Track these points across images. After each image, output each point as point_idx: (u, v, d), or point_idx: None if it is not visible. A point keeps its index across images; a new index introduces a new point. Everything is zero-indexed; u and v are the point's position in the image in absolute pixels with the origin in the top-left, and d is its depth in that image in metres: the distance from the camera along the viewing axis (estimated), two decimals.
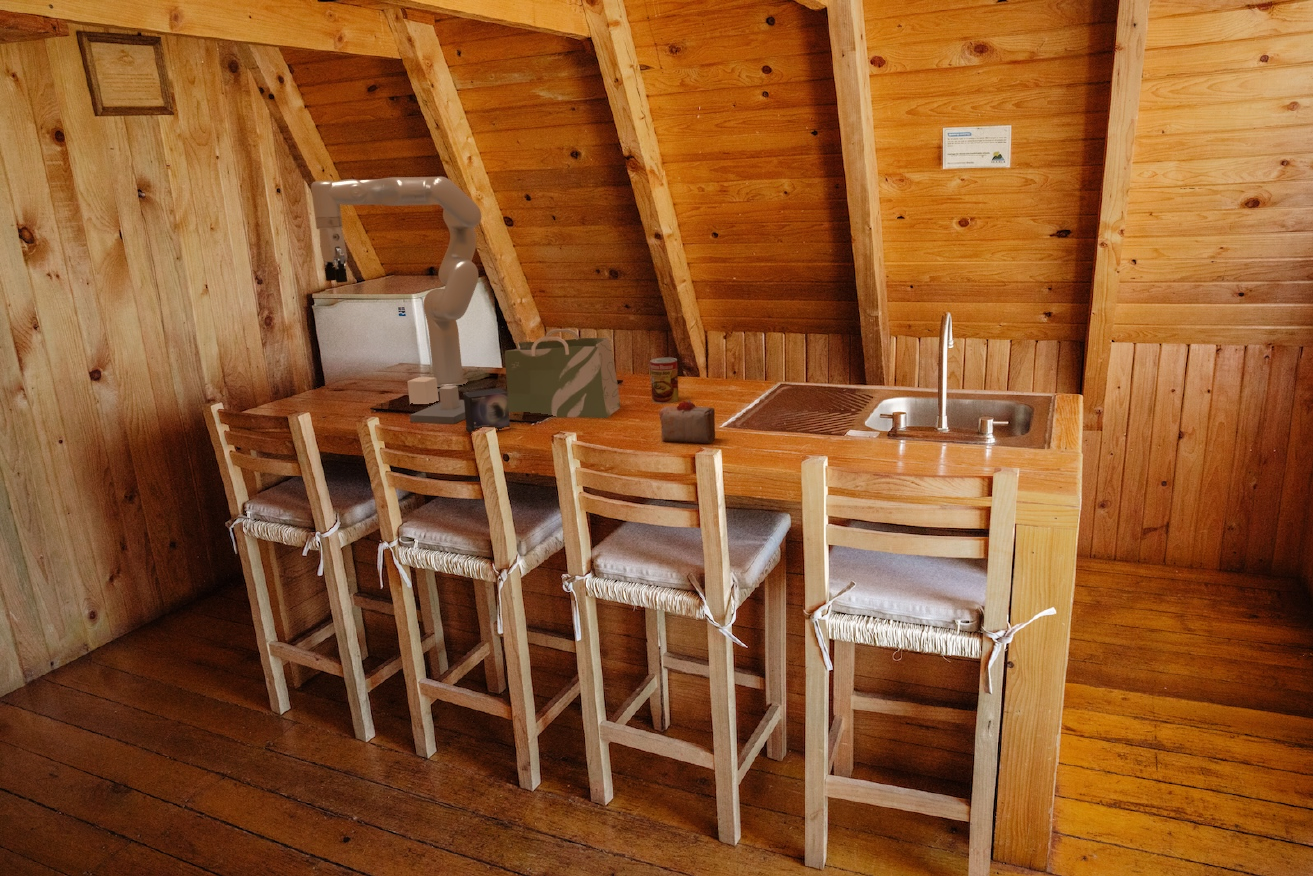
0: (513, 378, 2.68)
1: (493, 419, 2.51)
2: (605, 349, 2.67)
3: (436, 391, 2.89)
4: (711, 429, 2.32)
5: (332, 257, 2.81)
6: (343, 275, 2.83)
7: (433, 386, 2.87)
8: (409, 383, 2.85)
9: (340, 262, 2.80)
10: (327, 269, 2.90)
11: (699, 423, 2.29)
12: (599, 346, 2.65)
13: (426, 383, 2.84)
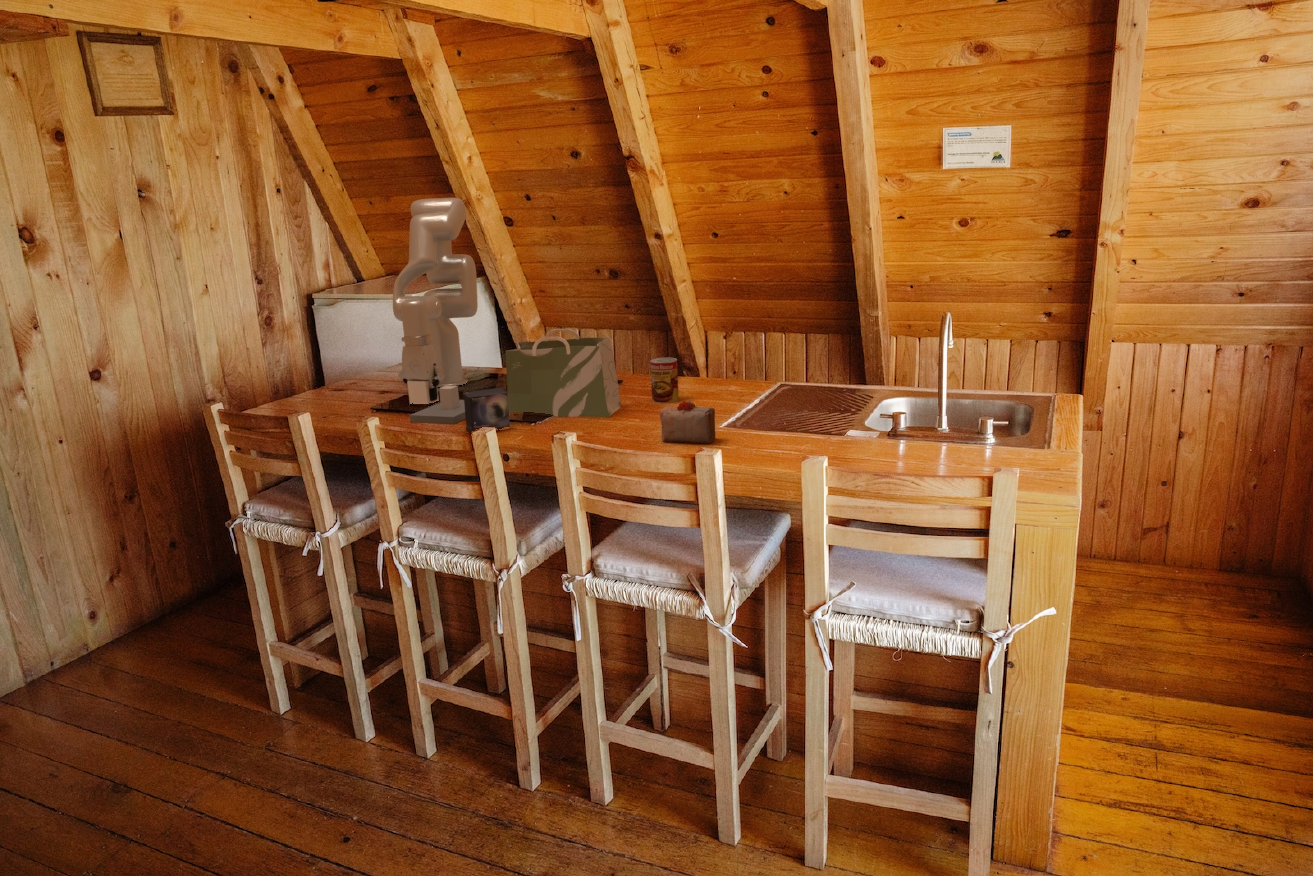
0: (513, 377, 2.68)
1: (493, 419, 2.51)
2: (606, 348, 2.67)
3: None
4: (711, 429, 2.31)
5: None
6: None
7: None
8: (409, 383, 2.85)
9: None
10: None
11: (700, 423, 2.29)
12: (600, 346, 2.65)
13: (426, 383, 2.84)
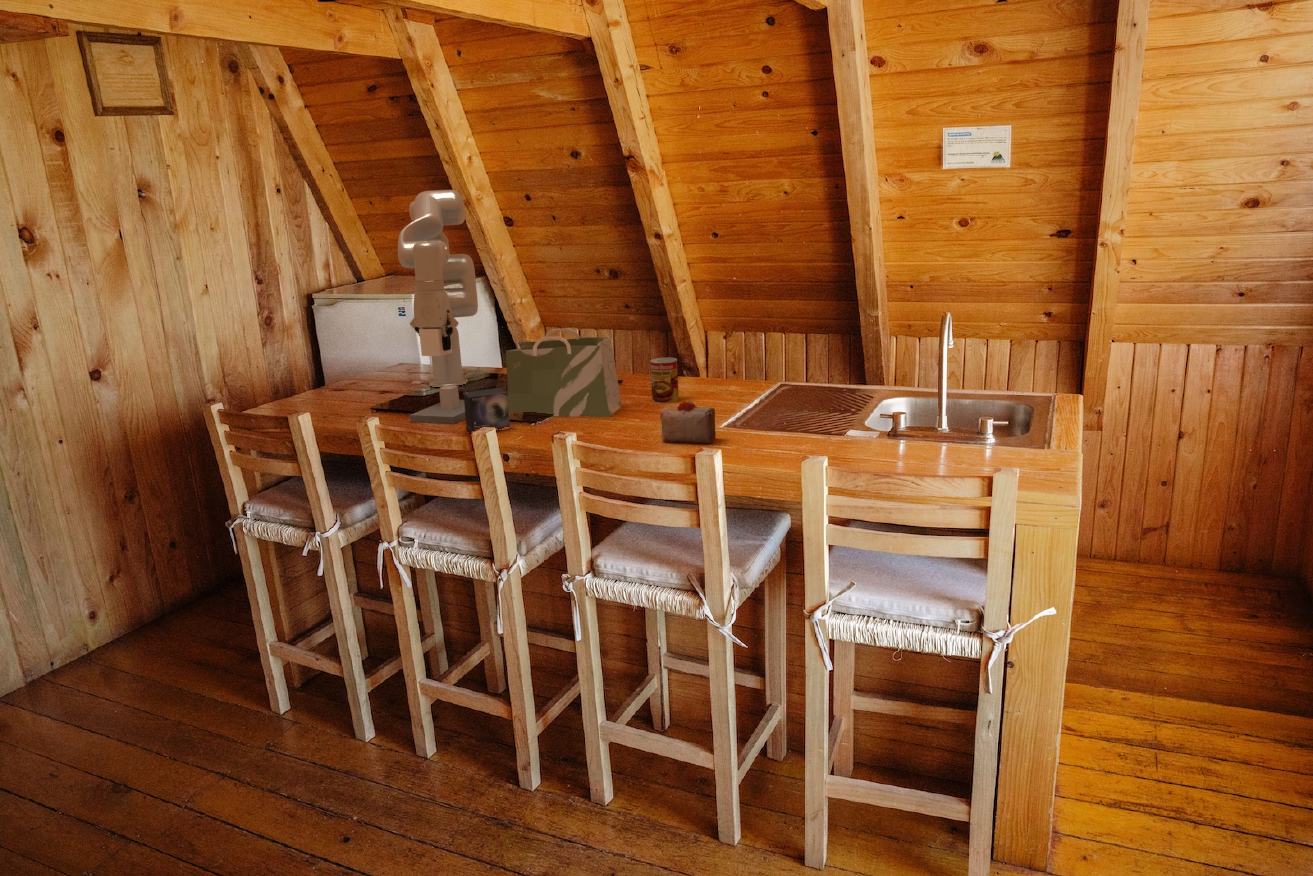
0: (514, 378, 2.68)
1: (493, 419, 2.51)
2: (606, 348, 2.68)
3: None
4: (712, 429, 2.31)
5: None
6: None
7: None
8: (421, 331, 2.69)
9: None
10: None
11: (700, 423, 2.29)
12: (600, 345, 2.66)
13: (439, 331, 2.68)
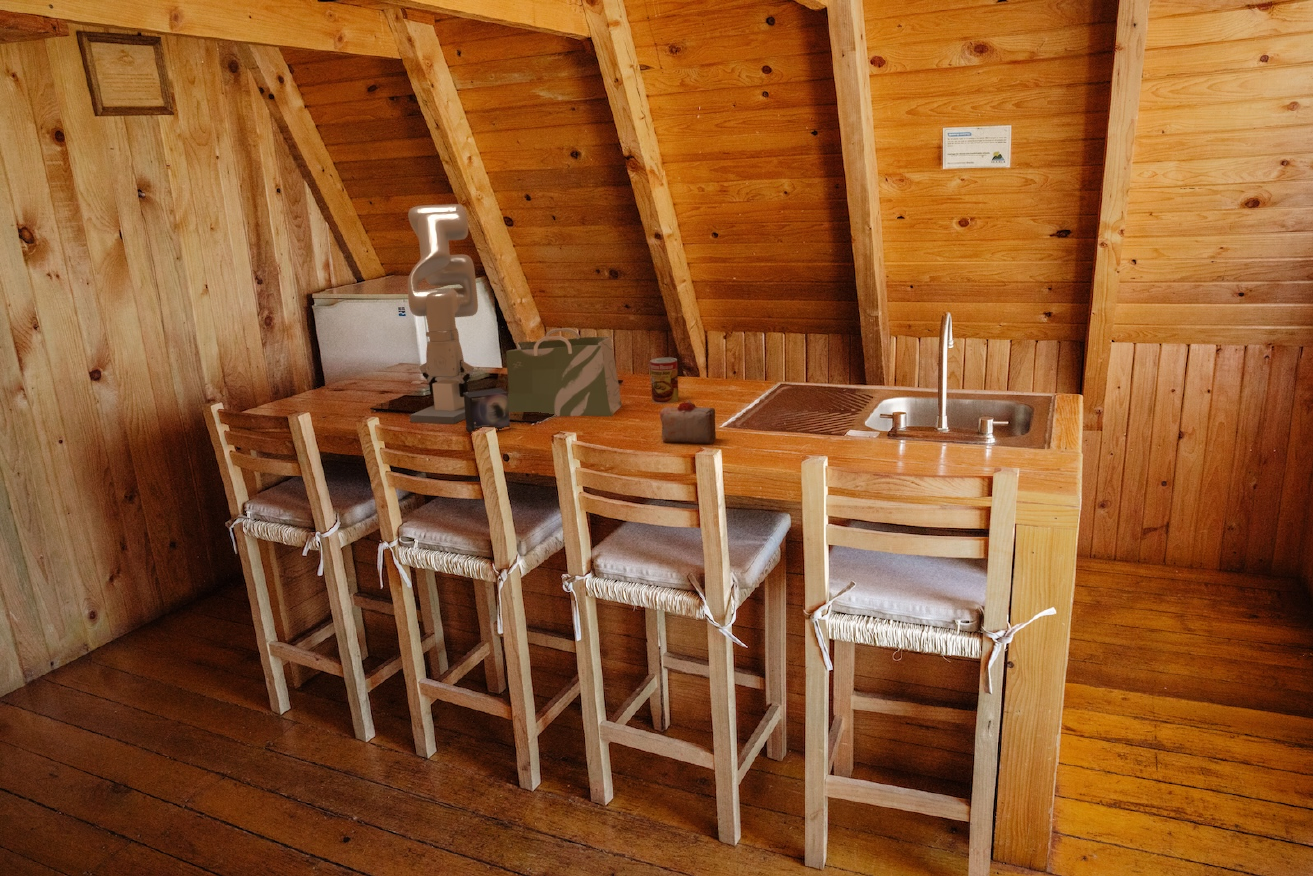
0: (514, 377, 2.68)
1: (493, 419, 2.51)
2: (606, 348, 2.68)
3: None
4: (712, 429, 2.31)
5: None
6: None
7: None
8: (434, 386, 2.69)
9: None
10: None
11: (700, 423, 2.29)
12: (601, 345, 2.66)
13: (452, 386, 2.68)
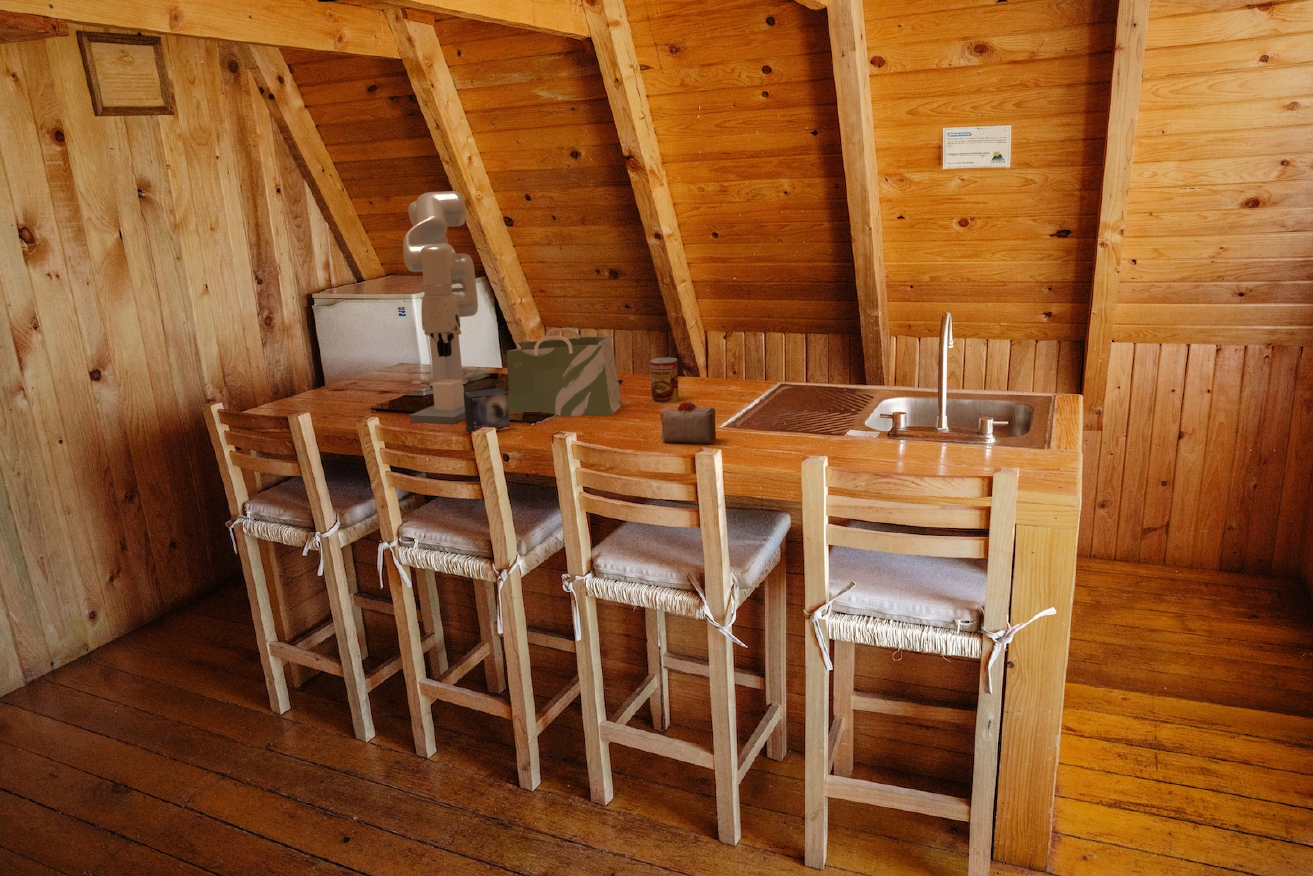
0: (515, 377, 2.68)
1: (493, 419, 2.51)
2: (607, 347, 2.69)
3: (462, 394, 2.73)
4: (712, 429, 2.31)
5: None
6: None
7: (459, 389, 2.72)
8: (434, 386, 2.69)
9: None
10: None
11: (701, 423, 2.29)
12: (601, 345, 2.67)
13: (452, 386, 2.68)
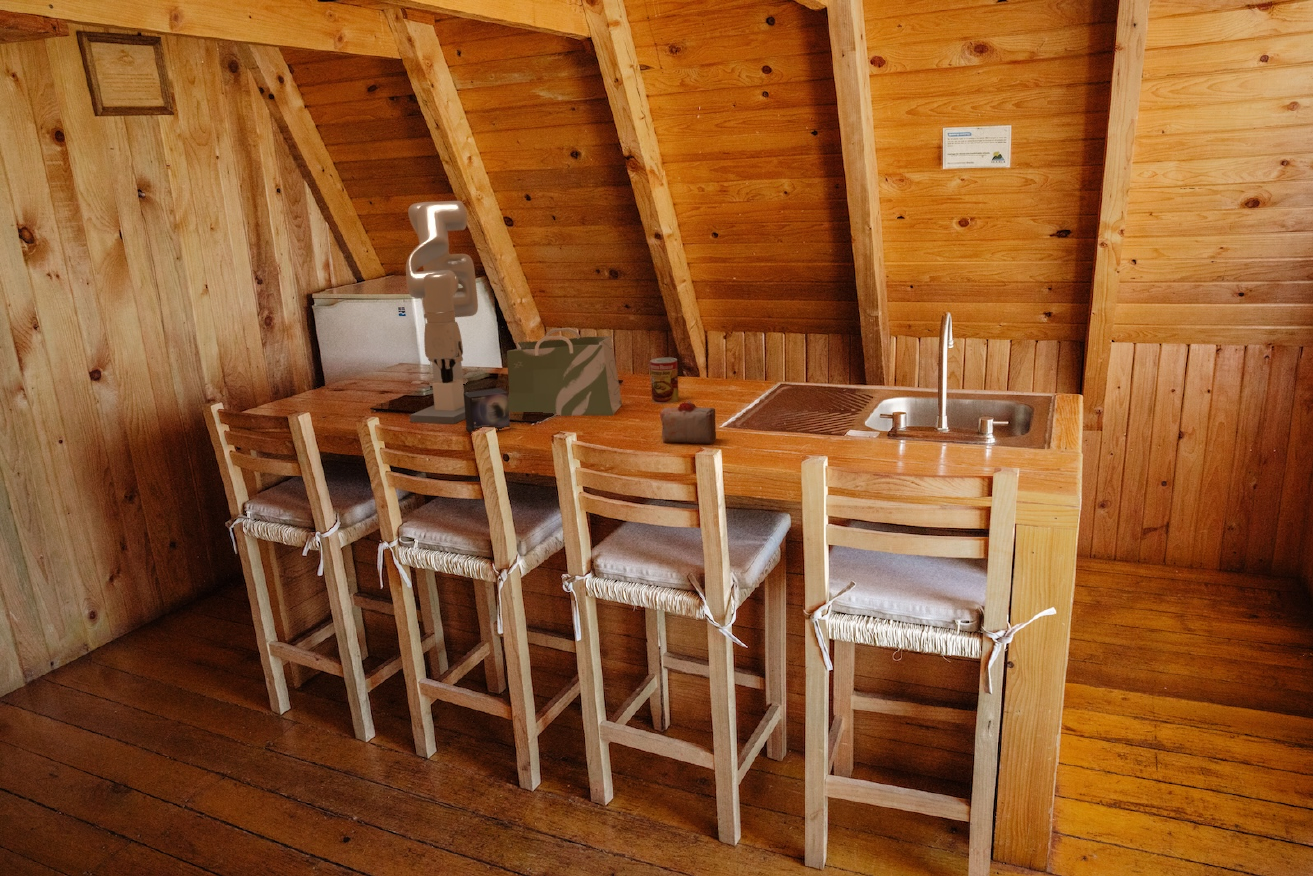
0: (515, 377, 2.68)
1: (493, 419, 2.51)
2: (607, 347, 2.69)
3: (462, 394, 2.73)
4: (713, 429, 2.31)
5: None
6: None
7: (459, 389, 2.71)
8: (434, 386, 2.69)
9: None
10: None
11: (701, 424, 2.29)
12: (602, 344, 2.67)
13: (452, 386, 2.68)
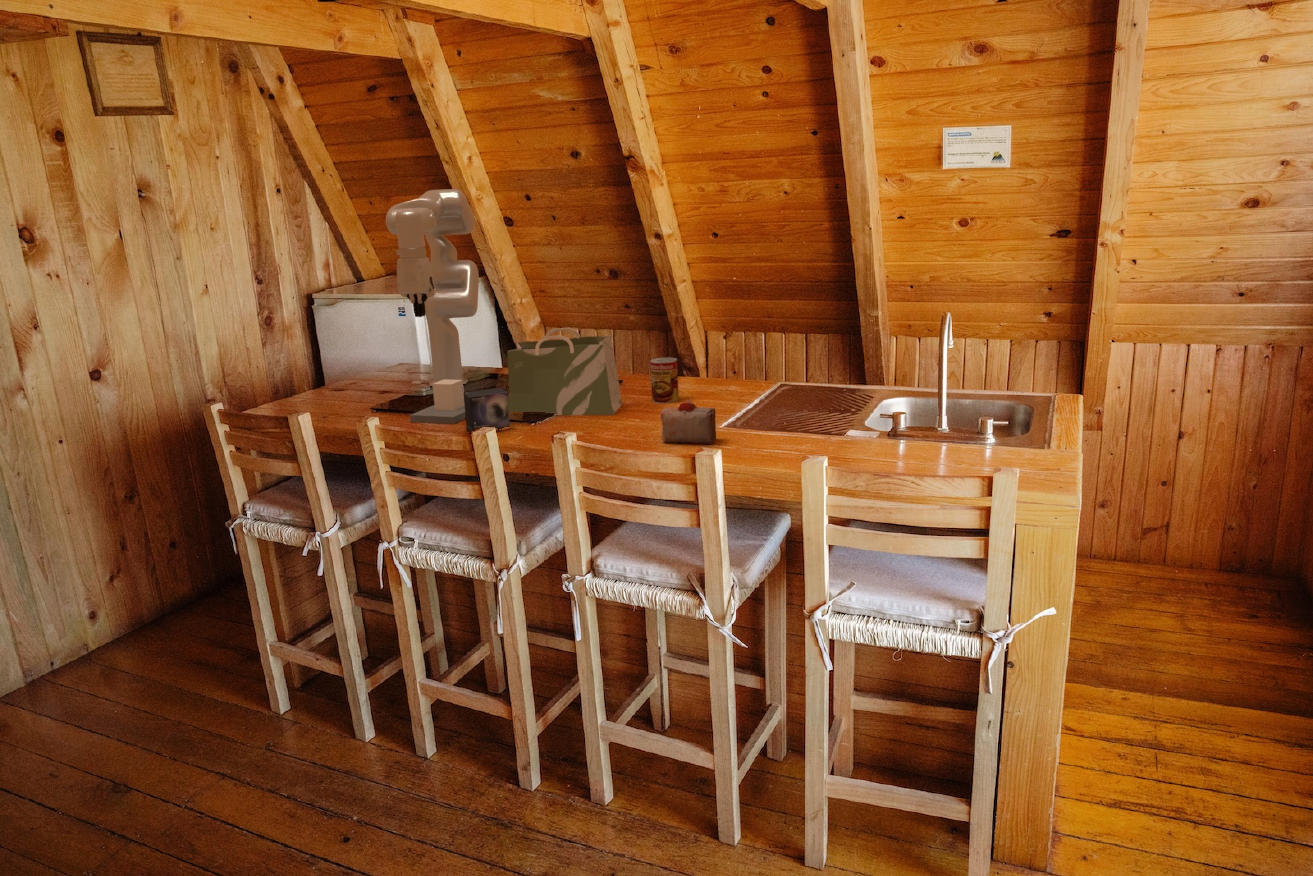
0: (515, 377, 2.68)
1: (493, 419, 2.51)
2: (607, 347, 2.70)
3: (462, 394, 2.73)
4: (713, 429, 2.31)
5: None
6: None
7: (459, 389, 2.72)
8: (434, 386, 2.69)
9: None
10: None
11: (701, 424, 2.29)
12: (602, 344, 2.67)
13: (452, 386, 2.68)
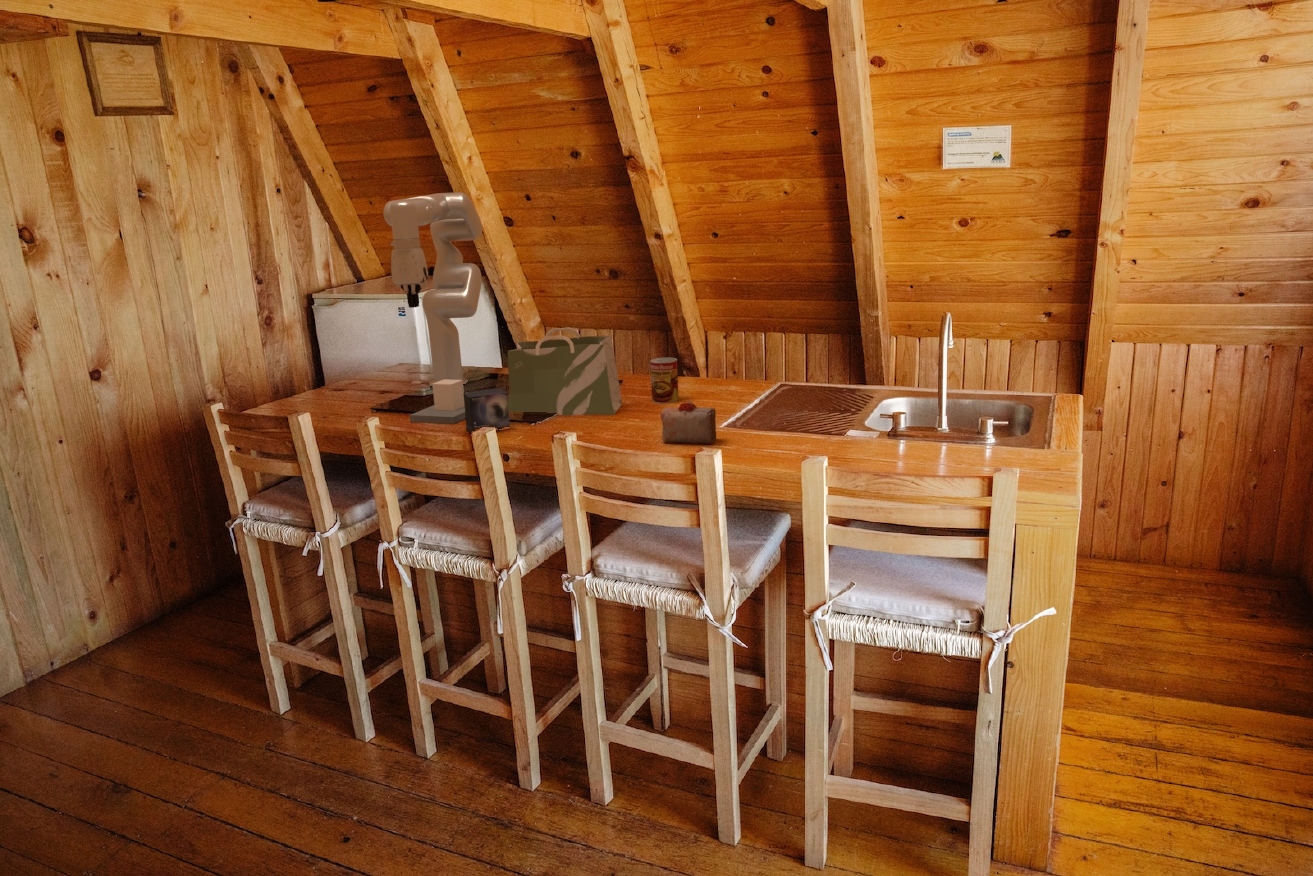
0: (516, 377, 2.68)
1: (493, 419, 2.51)
2: (607, 347, 2.70)
3: (462, 394, 2.73)
4: (713, 430, 2.31)
5: None
6: None
7: (459, 389, 2.72)
8: (434, 386, 2.69)
9: None
10: None
11: (702, 424, 2.29)
12: (602, 344, 2.68)
13: (452, 386, 2.68)
